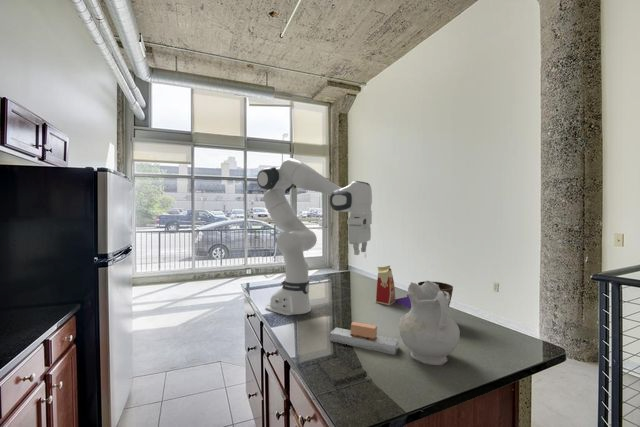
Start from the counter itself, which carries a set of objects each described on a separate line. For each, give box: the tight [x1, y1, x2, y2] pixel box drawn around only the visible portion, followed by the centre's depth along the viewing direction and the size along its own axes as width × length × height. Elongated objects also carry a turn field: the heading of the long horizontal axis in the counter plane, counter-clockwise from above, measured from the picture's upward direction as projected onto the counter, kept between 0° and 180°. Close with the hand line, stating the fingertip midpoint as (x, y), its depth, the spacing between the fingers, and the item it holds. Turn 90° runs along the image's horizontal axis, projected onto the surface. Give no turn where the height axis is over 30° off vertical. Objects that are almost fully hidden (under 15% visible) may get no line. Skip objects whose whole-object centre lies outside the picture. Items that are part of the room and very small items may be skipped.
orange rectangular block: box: [350, 321, 378, 340], centre depth 110 cm, size 9×3×7 cm, turn 66°
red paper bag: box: [375, 265, 397, 306], centre depth 161 cm, size 9×9×20 cm
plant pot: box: [417, 280, 454, 308], centre depth 135 cm, size 15×15×16 cm
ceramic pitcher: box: [398, 280, 461, 366], centre depth 100 cm, size 22×20×25 cm
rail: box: [329, 327, 399, 356], centre depth 110 cm, size 24×6×3 cm, turn 66°
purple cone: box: [395, 293, 411, 309], centre depth 158 cm, size 12×7×7 cm, turn 20°
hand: (360, 253), depth 124 cm, fingers open, 8 cm apart
